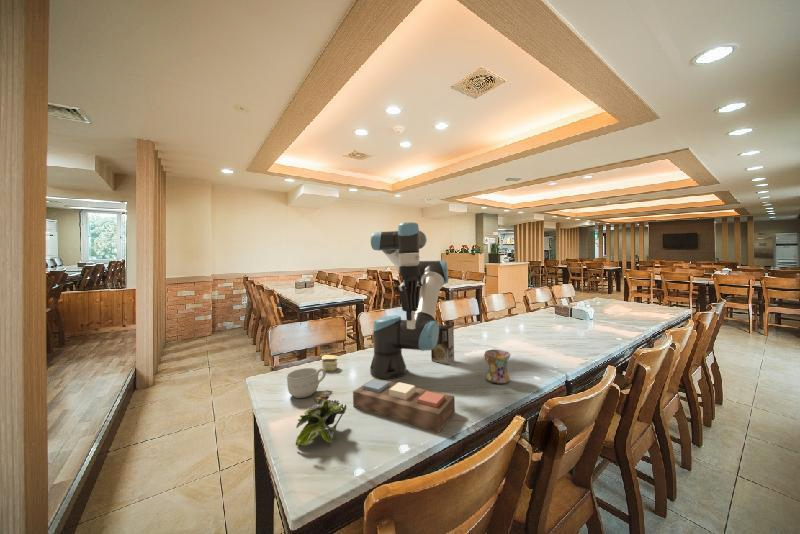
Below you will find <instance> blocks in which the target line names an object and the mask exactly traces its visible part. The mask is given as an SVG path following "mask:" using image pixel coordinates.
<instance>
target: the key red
mask: <svg viewBox="0 0 800 534" xmlns="http://www.w3.org/2000/svg"><path fill="white" fill-rule="evenodd" d="M429 391H430V390H429ZM429 391H426V392H425V393H424V394H423V395H422V396H420V397H419V398H418V404H422V405H426V406H430V407H434V408H438V407H439V406H440V405H441V403H442V402H443V401H444V400H445V395H442V394H443V393H442V394H438V393H439V392H438V393H433V392H429Z"/></svg>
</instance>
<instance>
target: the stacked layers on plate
mask: <svg viewBox="0 0 800 534" xmlns="http://www.w3.org/2000/svg"><path fill="white" fill-rule="evenodd" d="M337 357H338V355H333V354H324V355H322V356H321V368H323V369H325V371H326V370H327V371H335V370H336V369H337V368H338V358H337ZM327 371H326V372H327Z"/></svg>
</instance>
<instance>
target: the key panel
mask: <svg viewBox="0 0 800 534" xmlns="http://www.w3.org/2000/svg"><path fill="white" fill-rule="evenodd" d="M374 379H376V380H380V381H385V382H389V387H387V388H386V389H385V390H383V391H382V392H380V393H375V392H371V391H367V390H364V385H365V384H367V383H369V382H370V381H372V380H374ZM370 381H368V382H366V383H364V384H362V385H361V386H359V387H358V388H356V389H355V390H352V400H353V401H352V404H353V407H354V408H357V409H360V410H364V411H367V412H370V413H373V414H378V415H380V416H384V417H387V418H390V419H392V420H393V419H394V420H398V421H401V422H404V423H408V424H410V425H414V426H417V427H421V428H424V429H426V430H431V431H433V430H434V431H433V432H437V431H438V432H437V433H440V432H441V431H440V430H442V429H443V428H444V427H445V426H446V424H447V423H448V422H447V421H450V419H451V418H452V416H453V415H454V414H455V412H456V408H455V407H456V406H455V405H456V404H455V395H451V394H447V393H442V392H437V391H432V390H429V389H425V388H419V387H416V386H415V393H414V394H413V395H412V396H411V397H410V398H409V399H407V400H403V399H399V398H395V397H391V396H389V389H390V388H391V387H393V386H394V385H396V384H397V383H398V382H394V381H393V382H392V381H388V380H386V379H381V378H376V377H373V379H371V380H370ZM426 391H429V392H433V393H438V394H442V395H445V400H444V401H443V402H442V403H441V405H440V406H439V407H438V408H434V407H430V406H426V405H422V404H418V398H419V397H420V396H422V395H423V394H424V393H425V392H426ZM443 426H444V427H443ZM442 427H443V428H442ZM439 431H440V432H439Z"/></svg>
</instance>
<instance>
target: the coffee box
mask: <svg viewBox="0 0 800 534" xmlns="http://www.w3.org/2000/svg"><path fill="white" fill-rule="evenodd" d="M438 325H439V335H438V341H437V344H436V346H435V348H434V349H433V350H430V351H431V362H432V361H433V363H438V362H439V364H445V365H451V364H452V363H453V362H454V361H455V344H454V343H455V340H454V339H455V338H454V337H455V335H454V331H455V330H454V325H447V324H446V325H445V324H438Z"/></svg>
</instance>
